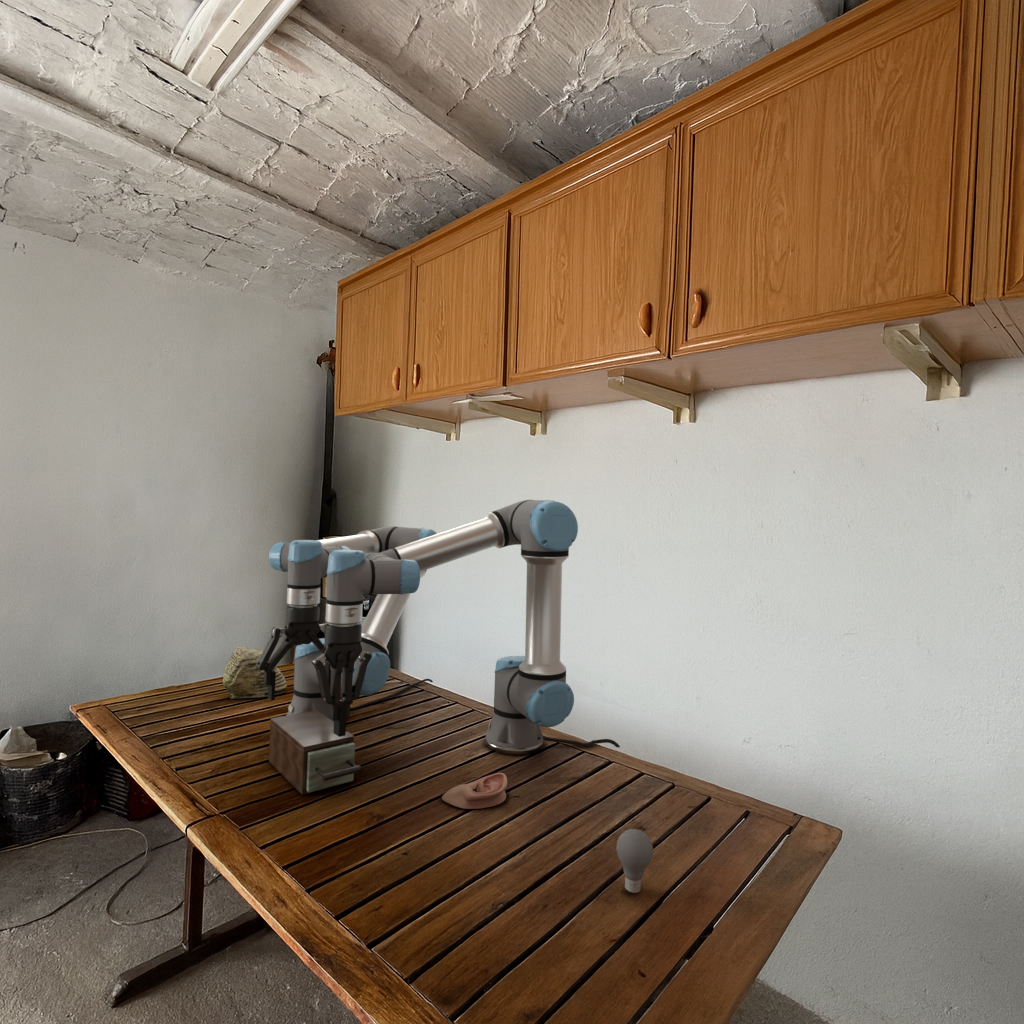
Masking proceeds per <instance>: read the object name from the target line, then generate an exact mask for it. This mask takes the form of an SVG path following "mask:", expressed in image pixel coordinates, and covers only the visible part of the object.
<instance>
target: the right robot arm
mask: <svg viewBox="0 0 1024 1024" xmlns="http://www.w3.org/2000/svg"><path fill="white" fill-rule="evenodd" d="M578 532H579V525H578V520H577V516H576V515H575V513H574V511H573V510H572V509H571V508H570V507H569V506H568V505H566V504H565V503H562V502H560V501H555V500H551V499H545V500H543V499H538V500H537V499H525V500H519V501H517V502H515V503H512V504H509V505H506V506H504V507H501V508H499V509H496V510H493V511H489V512H487V514H486V515H485V517H484V518H482V519H478V520H475V521H472V522H469V523H466V524H462V525H460V526H457V527H454V528H451V529H448V530H445V531H442V532H439V533H438V532H437V534H435V535H432V536H429V537H426V538H423V539H420V540H417V541H414V542H411V543H408V544H405V545H402V546H399V547H395V548H393V549H389V550H386V551H383V552H380V553H379V552H373V553H369V554H367V555H365V554H364V552H363V551H360V550H334V551H332V552H331V553H330V554H329V559H328V569H327V577H326V601H325V602H326V603H325V617H324V618H325V620H324V622H327V623H328V624H326V626H325V635H324V638H325V646H324V649H323V651H322V654H321V655H320V656H319V657H318V658H313V659H312V660H311V662H312V664H313V666H314V667H315V669H316V673H317V678H318V682H319V687H320V692H321V697H322V700H323V701H324V702H325V703H327V704H331V712H330V717H331V719H332V720H334V732H333V733H334V734H336V735H337V736H339V737H340V736H345V735H346V731H347V719H349V718H350V716H351V710H350V707H351V705H353V703H354V700H358V699H359V698H360V696H361V695H360V692H361V688H362V684H363V681H364V677H365V673H366V669H367V665H368V663H369V661H370V660H371V658H372V654H370V653H368V652H366V651H364V650H362V649H363V648H362V645H361V637H362V625H363V624H361V622H362V621H363V609H364V608H363V605H364V596H366V595H369V596H371V595H378V594H401V595H403V594H408V593H411V594H414V593H416V592H417V591H418V589H419V588H420V583H421V578H420V572H421V571H424V570H429V569H432V568H435V567H439V566H441V565H444V564H447V563H450V562H453V561H456V560H458V559H462V558H464V557H468V556H470V555H474V554H476V553H480V552H482V551H484V550H488V549H491V548H493V547H495V548H497V549H502V548H505V547H510V546H518V545H519V546H520V556H521V558H523V560H524V561H525V563H526V589H525V590H526V591H525V592H526V593H525V594H526V595H525V601H526V602H525V640H524V641H525V645H524V646H525V647H524V655H512V656H511V655H510V656H509V655H507V656H502V657H499V658H498V659H497V660H496V661H495V669H494V691H493V692H494V693H493V713H492V716H491V719H490V721H489V723H488V728H487V731H486V733H485V745H486V747H487V748H488V749H490V750H492V751H494V752H496V753H500V754H505V755H511V756H516V755H517V756H521V755H522V756H523V755H531V754H534V753H537V752H539V751H540V750H541V749H542V748H543V747H544V742H545V741H546V742H552V743H553V742H554V743H559V744H569V745H575V746H580V747H583V748H590V747H592V746H593V745H597V744H598V745H599V744H611V745H612V746H614V747H615V748H621V745H620V744H619V743H618V742H617V741H615V740H613V739H610V738H601V739H593V740H590V741H588V742H582V741H578V740H573V739H565V738H557V737H550V736H544V735H543V731H542V728H553V727H557V726H558V725H561V724H562V723H563V722H564V721H565V719H566V718H568V717H569V716H570V714H571V713H572V711H573V708H574V703H575V695H574V691H573V690H572V688H571V686H570V685H569V684H568V683H567V666H565V664H564V663H563V661H561V640H562V639H561V637H562V636H561V635H562V589H563V586H562V585H563V563H564V562H565V561H566V560H567V559H568V558H569V556H570V554H569V553H570V552H569V551H570V547H571V546H572V545H573V543H574V542H575V540H576V539H577V536H578ZM357 658H358V659H359V660H358V662H357V666H356V670H355V673H354V677H353V671H354V663H355V661H356V660H357ZM325 660H327V661H328V663H329V664H330V670H331V686H330V687H329V682H328V677H327V672H326V669H325V667H324V666H325V665H326V662H325ZM341 673H342V692H341ZM352 677H353V681H352ZM541 727H542V728H541Z"/></svg>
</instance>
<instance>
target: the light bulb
mask: <svg viewBox="0 0 1024 1024" xmlns="http://www.w3.org/2000/svg"><path fill="white" fill-rule="evenodd" d="M615 849H616V854H617V857H618V859H619V861H620V863H621V865H622V867H623V873H624V874H623V875H624V876H625V878H624V888H625V890H627V891H628V892H630V893H634V894H635V893H639V892H640V891H641V889H642V887H641V886H642V879H643V877H644V875H645V871H646V868H647V867H648V866H649V864H650V863H651V861H652V859H653V855H654V847H653V843H652V841H651V838H649V836H648V835H647V834H646V833H645V832H643V831H642V830H641V829H636V828H629V829H627V830H625V831H623V832H622V833H621V834H620V835H619V837H618V839H617V841H616V847H615Z"/></svg>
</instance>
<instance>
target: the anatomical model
mask: <svg viewBox="0 0 1024 1024" xmlns="http://www.w3.org/2000/svg"><path fill="white" fill-rule="evenodd" d="M507 786H508V778H507V775H506V774H505V773H503V772H496V773H492V774H488V775H485V776H484V777H481V778H478V779H476V780H474V781H471V782H468V783H462V784H459V785H455V786H454V787H452V788H450V789H449V790H447V791H446V792H445V793H444V794H443V795H442V796H441V799H442V801H443V802H445V803H446V804H449V805H450V806H454V807H456V808H460V809H464V810H476V809H485V808H490V807H495V806H498V805H500V804H502V803H504V802H505V801H506V799H507V794H506V789H507Z"/></svg>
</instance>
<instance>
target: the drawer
mask: <svg viewBox="0 0 1024 1024" xmlns="http://www.w3.org/2000/svg"><path fill="white" fill-rule="evenodd" d="M355 754H356V743H355V742H354V743H353V742H352V743H348V744H345V743H341V744H337V745H332V746H328V747H323V748H319V749H314V750H310V751H308V763H307V789H306V791H307V792H308V793H307V794H310V793H309V792H311V793H314V792H318V791H321V790H320V789H322V790H325V789H324V788H326V789H329V788H332V787H331V786H333V787H336V786H335V785H337V786H339V784H340V785H344V784H347V783H346V782H348V783H351V782H350V781H352V782H353V781H354V780H355V778H354V776H355V774H357V773H360V772H361V771H362V766H361V765H360V764H359V765H357V764H355V756H356V755H355ZM343 783H344V784H343ZM328 787H329V788H328ZM317 790H318V791H317ZM313 791H314V792H313Z"/></svg>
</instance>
